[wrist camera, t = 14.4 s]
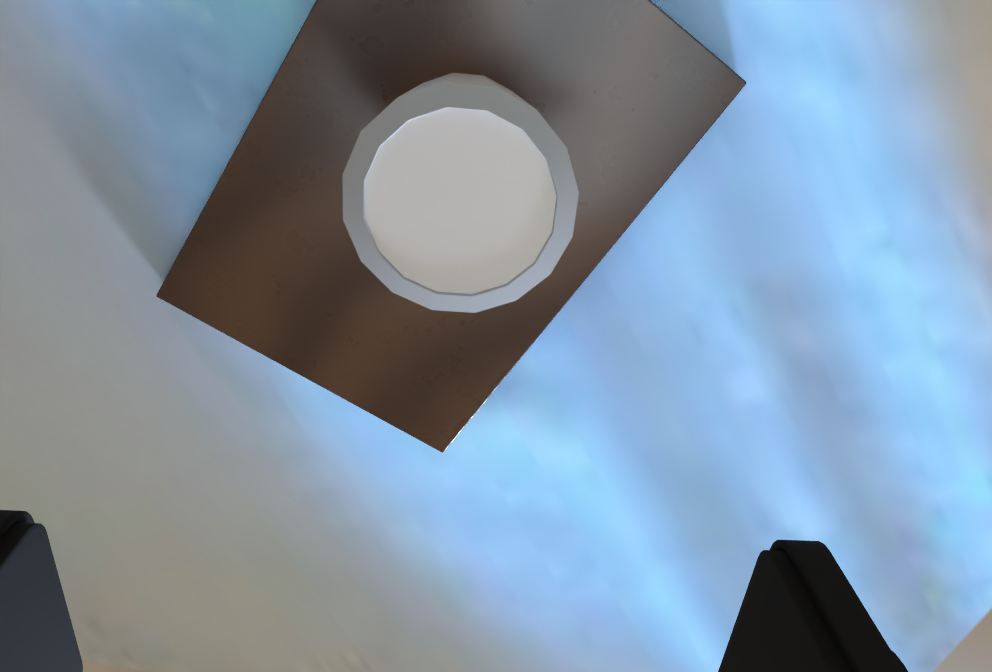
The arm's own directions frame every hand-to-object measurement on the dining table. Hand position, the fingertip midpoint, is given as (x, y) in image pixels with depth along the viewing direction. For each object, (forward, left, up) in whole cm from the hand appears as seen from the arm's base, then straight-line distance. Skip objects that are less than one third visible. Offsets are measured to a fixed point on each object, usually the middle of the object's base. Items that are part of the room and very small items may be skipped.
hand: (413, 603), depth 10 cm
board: (0, -1, -21) cm, 21 cm away
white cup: (0, +1, -20) cm, 20 cm away
